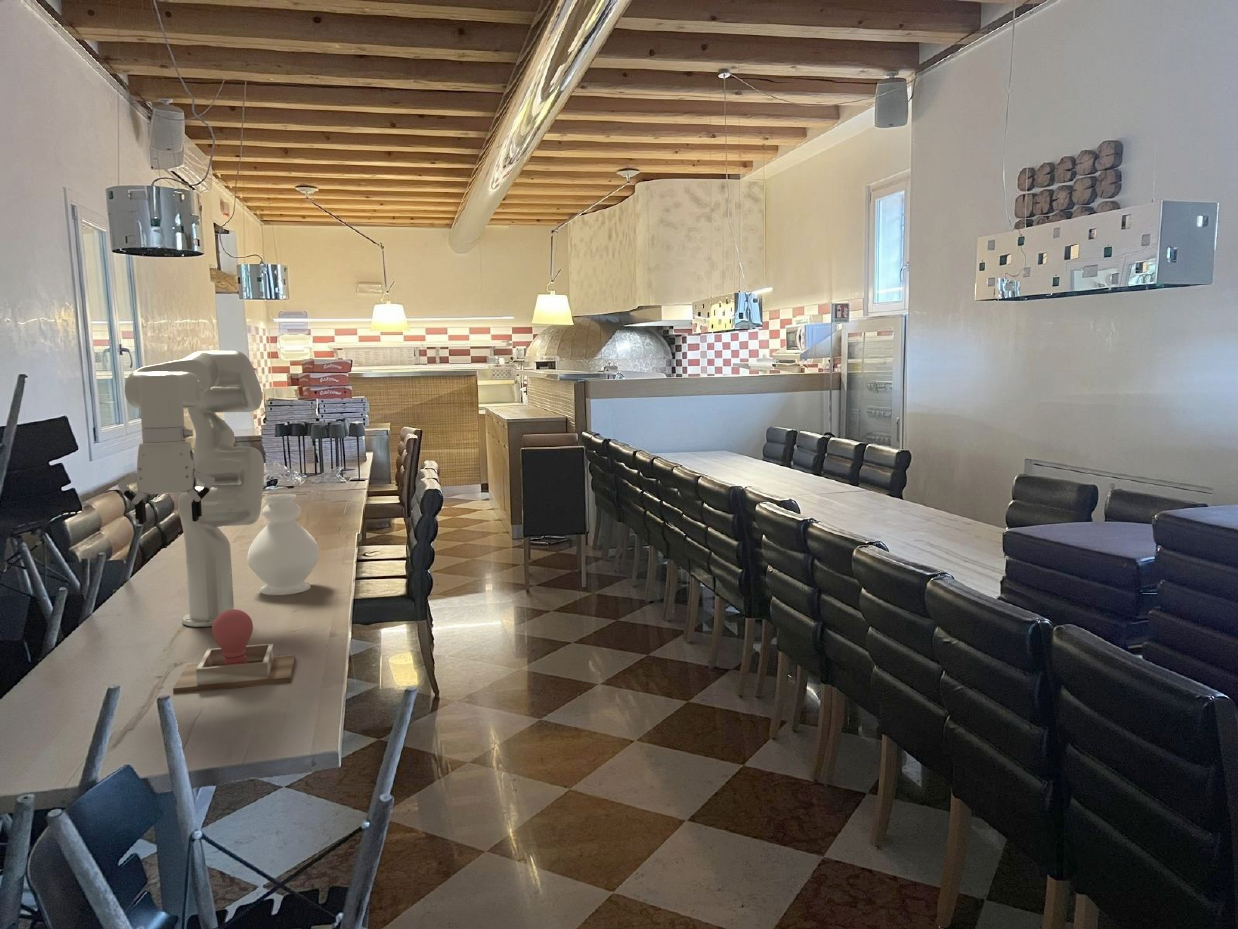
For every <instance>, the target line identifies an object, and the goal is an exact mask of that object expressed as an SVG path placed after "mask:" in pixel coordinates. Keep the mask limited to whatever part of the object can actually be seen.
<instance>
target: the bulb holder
mask: <svg viewBox="0 0 1238 929" xmlns="http://www.w3.org/2000/svg"><path fill="white" fill-rule="evenodd" d="M274 646H275V645H274V643H261V644H260V643H259V644H252V645H251V644H250V645H248V644H247V645H246V647H245V650H246V652H245V656H246V657H247V658H246V659H247V661H246V662H247V664H237V665H226V664H225V657H224V656H223V651H222V649H221V648H220V647H217V648H216V647H215V648H207V649H206V651H205V653H204V655H203V656H202V659H200V663H193V664H187V665H186V666H185V668H184V669H183V671H182V672H181V674H180V675H179V678H177V681H176V682H175V684H174V686H173V687H172V694H173V695H174V694H183V693H184V694H185V693H192V692H193V693H195V692H207V691H214V690H215V691H217V690H226V689H235V688H245V687H256V686H266V685H268V686H269V685H278V684H287V683H291V680H292V676H293V672H294V668H295V664H296V661H297V660H296V659H297V658H296V655H295V654H294V655H284V656H275V652H274V651H275V647H274Z"/></svg>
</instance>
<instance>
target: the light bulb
mask: <svg viewBox="0 0 1238 929" xmlns="http://www.w3.org/2000/svg"><path fill="white" fill-rule="evenodd" d="M237 609H238V608H236V609H230V610H227V611H224V612H222V613H221V614H220V615H218V617H217V618H216V619H215V621H214V623H213V626H211V632H212V636H213V638H214V640H215V641H216V643H217V645H218V646H219V648H221V649H222V651H223V656H224V657H225V664H226V665H237V664H247V662H246V661H247V659H246V658H247V657H246V656H245V652H246V650H245V647H246V646H248V642H249V641H250V638H251V636H252V634H253V629H254V625H253V620H252V618H251V617H250V615H249V614H248V613H247V612H245V611H243V610H241V609H239V610H237Z"/></svg>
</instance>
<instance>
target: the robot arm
mask: <svg viewBox="0 0 1238 929" xmlns="http://www.w3.org/2000/svg"><path fill="white" fill-rule="evenodd" d="M124 384H125V385H124V394H125V395H124V396H125V399H126V401H127V402H128V404H129V405H130V406H132V407H133V408H135V409H137V410H140V421H141V434H142V437H141V439H142V442H141V443H139V445H138V451H137V457H136V458H137V463H136V473H134V474H131V475H130V476H127V477H125V478H123V479H122V480H120V481H118V482H117V486H118V488H119V490H120V491H121V492H122V493H123V496H125V498H126V499H128V501H130V502H131V503H132V504H133V505H134V514H135V515H134V516H135V520H137V521H138V524H139V525H143V524H145V523H147V508H146V506H147V505H146V503H145V501H144V499H145V498H146V497H147V495H162V494H163V495H165V494H169V495H170V494H180V495H179V496H178V500H177V508H178V514H179V518H180V523H181V527H182V532H183V537H184V538H183V539H184V548H185V550H184V552H185V564H186V580H187V581H186V582H187V583H186V584H187V596H188V609H189V610H188V613H187V614H184V615H183V616H182V618H181V620H182V621H181V622H182V624H183V625H185V626H188V627H196V628H199V627H200V628H201V627H202V628H204V627H205V628H206V627H212V626H213V623H214V621H215V619H216V618H217V617H218V615H220V614H221V613H222V612H224V611H227V610H230V609H237V610H240V609H239V608H235V602H234V587H233V582H234V581H233V568H232V548H231V544H230V540H229V539H228V537H227V536H226V535H225V533H223V532H222V530H221V529H220V528H219V527H230V526H232V527H235V526H237V527H238V526H249V525H253V524H255V523H256V522H257V521H259V518H260V515H261V510H262V502H263V501H262V500H263V492H264V491H263V490H264V480H265V461H264V457H263V455H262V453H261V451H260V450H259V449H257V448H256V447H252V446H234V443H235V433H234V431H233V429H232V428H231V426H229V425H228V423H227V422H226V421H224V419H223V418H221V417H220V416H218V415H217V413H251V412H254V411H256V410H258V409H259V408H260V406H261V404H262V401H263V392H262V388H261V384H260V381H259V379H258V376H257V374H256V371H255V369H254V366H253V364H252V362H251V360H250V359H249V357H248V356H247V355H246V354H245V353H243V352H241V351H239V350H198V351H195V352H192V353H190V354H189V355H187V356H185V357H183V358H181V359H177V360H173V361H167V362H163V363H157V364H153V365H151V364H150V365H147V366H143V367H140V368H137V369H136V370H133V371H132V372H131V373H130V374H129V375H128V377H127V378H126V380H125V383H124ZM184 409H187V412H188V415H189V418H190V420H191V424H192V425H193V428H194V431H195V442H194V447H193V448H192V444H191V442H190V441H186V440H187V439H188V438H189V437H193V435H194V431H193V429H188V428H186V426H185V414H184ZM133 482H136V487H137V491H138V492H137V494H136V493H135V491H133V490H132V489H131V487H130V486H129V485H130V484H131V483H133Z"/></svg>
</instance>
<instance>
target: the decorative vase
mask: <svg viewBox="0 0 1238 929" xmlns="http://www.w3.org/2000/svg"><path fill="white" fill-rule="evenodd" d="M295 499H297V495H296V494H294V493H277V494H270V495H266V496H265V500H266V501H268V502H269V503H268V504H266V505H264V507H263V509H262V516H263V517H264V518H265V519H267V521H268V523H267V524H266V525H265V526H264V527H263V528H262V529H261V530H260V531H259V532H258V534H257V535H256V536H255V538H254V539H253V541H252V543H251V544H250V546H249V549H248V552H247V564H248V566H249V568H250V569H251V571H252V572H253V573H254V574H255V575H256V576H257V577H258V578H259V579H260V580H261V581H262V582H263V583H264V584H265V585H263V586H261V587H260V589H259V590H260V591H259V592H260V593H261V594H263V595H267V596H286V595H288V596H289V595H295V594H300V593H303V592H306V591H308V590H310V589H311V588H312V587H311V583H310V582H306V580H307V578H308V576H310V574H311V573H312V571H313V570H314V568H315V567H316V566H317V564H318V562H319V560H320V553H321V552H320V548H319V545H318V543H317V541H316V539H315V538H314V537H313V535H312V534H310V532H309V531H308V530H307V529H305V527H303V526H302V524H300V523H299V522H297V521H296V519H297V518H299V516H300V515H301V512H302V509H301V506H300V505H298V503H297V502H294V500H295Z"/></svg>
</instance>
